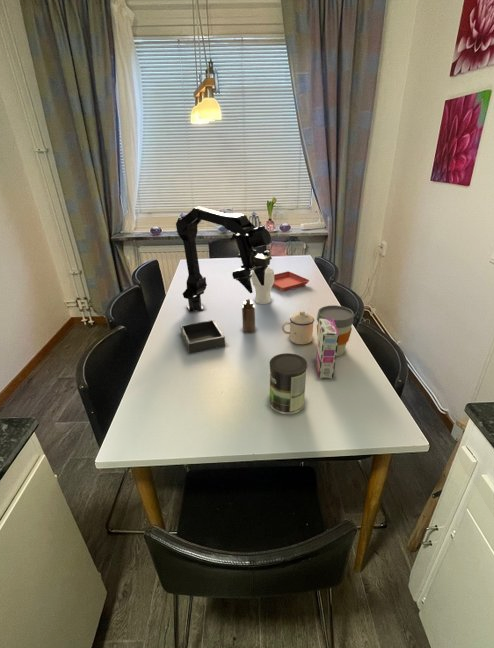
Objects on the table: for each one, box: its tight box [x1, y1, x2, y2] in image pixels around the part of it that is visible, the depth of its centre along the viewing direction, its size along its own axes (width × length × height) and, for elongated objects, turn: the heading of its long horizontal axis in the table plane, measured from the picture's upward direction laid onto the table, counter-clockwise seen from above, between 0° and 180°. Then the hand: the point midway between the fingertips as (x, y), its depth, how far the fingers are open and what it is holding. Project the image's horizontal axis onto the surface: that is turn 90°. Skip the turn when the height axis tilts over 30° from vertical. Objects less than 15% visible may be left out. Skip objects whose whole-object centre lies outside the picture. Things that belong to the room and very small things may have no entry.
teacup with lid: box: [281, 310, 315, 345], centre depth 131 cm, size 12×9×12 cm
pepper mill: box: [241, 298, 256, 334], centre depth 138 cm, size 5×5×14 cm
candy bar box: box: [315, 319, 339, 380], centre depth 112 cm, size 11×5×16 cm, turn 178°
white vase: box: [250, 266, 275, 305], centre depth 163 cm, size 11×11×15 cm
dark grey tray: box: [179, 319, 226, 354], centre depth 134 cm, size 16×14×4 cm
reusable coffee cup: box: [316, 304, 355, 357], centre depth 123 cm, size 13×13×15 cm
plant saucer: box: [272, 271, 310, 292], centre depth 184 cm, size 18×18×3 cm
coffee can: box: [268, 352, 308, 415], centre depth 99 cm, size 10×10×14 cm
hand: (257, 289), depth 138 cm, fingers open, 9 cm apart
